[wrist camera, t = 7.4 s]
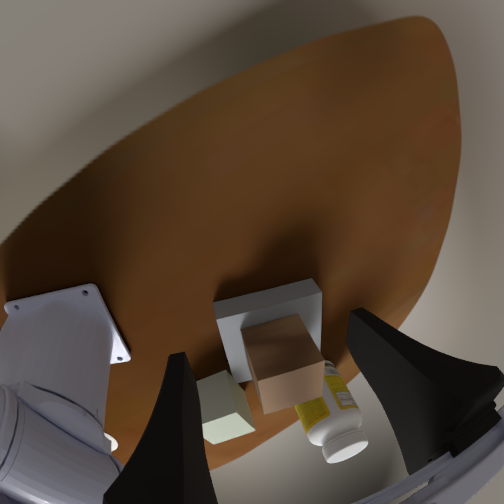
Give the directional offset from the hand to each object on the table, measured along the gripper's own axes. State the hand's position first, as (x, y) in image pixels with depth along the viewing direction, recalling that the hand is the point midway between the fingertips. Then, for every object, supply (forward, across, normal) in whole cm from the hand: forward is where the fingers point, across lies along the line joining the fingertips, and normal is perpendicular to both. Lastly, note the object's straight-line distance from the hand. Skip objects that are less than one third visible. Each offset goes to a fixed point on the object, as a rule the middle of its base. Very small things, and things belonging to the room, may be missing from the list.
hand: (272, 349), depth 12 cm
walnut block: (+8, -2, +8) cm, 11 cm away
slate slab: (+10, -2, +8) cm, 14 cm away
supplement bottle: (+10, -6, +17) cm, 21 cm away
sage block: (+10, +4, +16) cm, 19 cm away
